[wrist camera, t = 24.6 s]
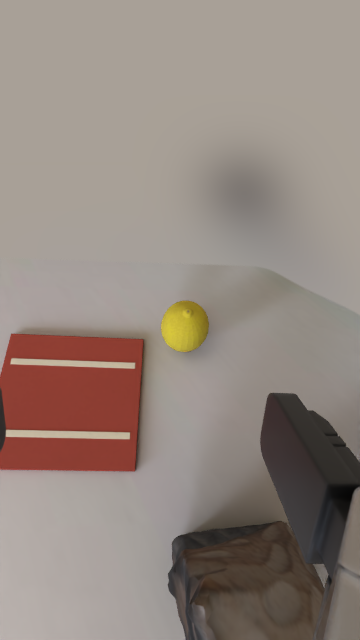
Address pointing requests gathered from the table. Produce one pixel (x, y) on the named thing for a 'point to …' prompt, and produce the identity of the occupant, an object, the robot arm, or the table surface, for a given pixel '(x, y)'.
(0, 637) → the table surface
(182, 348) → the lemon
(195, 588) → the brown rock
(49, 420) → the pot holder
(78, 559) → the table surface
